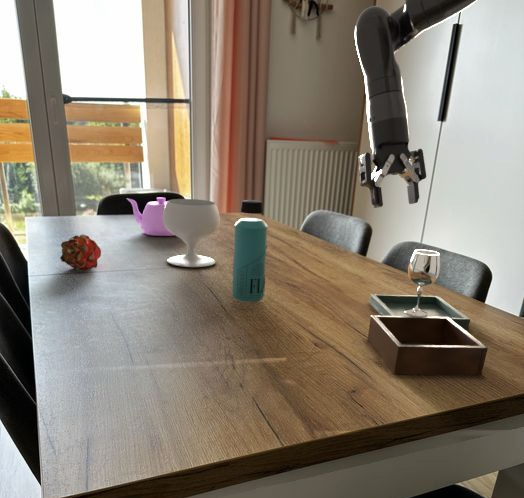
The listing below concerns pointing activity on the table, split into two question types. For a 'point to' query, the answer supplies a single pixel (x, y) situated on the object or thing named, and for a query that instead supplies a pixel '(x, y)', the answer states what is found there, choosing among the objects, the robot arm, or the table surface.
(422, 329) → the brown wooden box
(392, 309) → the tray
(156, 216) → the teapot
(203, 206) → the chalice
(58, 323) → the table surface
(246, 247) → the beverage bottle
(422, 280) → the wineglass
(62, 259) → the dragon fruit
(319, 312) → the table surface
